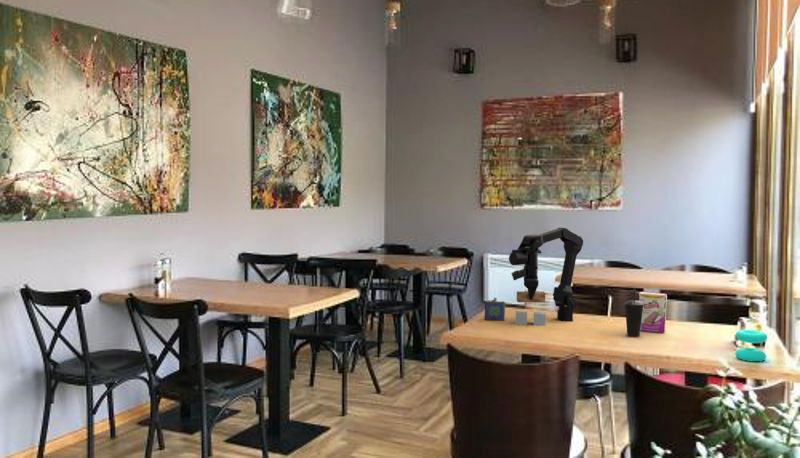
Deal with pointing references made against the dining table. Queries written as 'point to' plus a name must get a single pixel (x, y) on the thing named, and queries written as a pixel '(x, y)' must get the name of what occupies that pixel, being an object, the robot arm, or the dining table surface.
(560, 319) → the robot arm
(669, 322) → the dining table surface
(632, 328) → the drinking cup
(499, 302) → the flask
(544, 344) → the dining table surface
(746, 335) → the teal stacked rounded discs
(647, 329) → the candy bar box
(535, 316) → the pillar
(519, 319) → the tilted pale grey prism
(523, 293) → the lintel
